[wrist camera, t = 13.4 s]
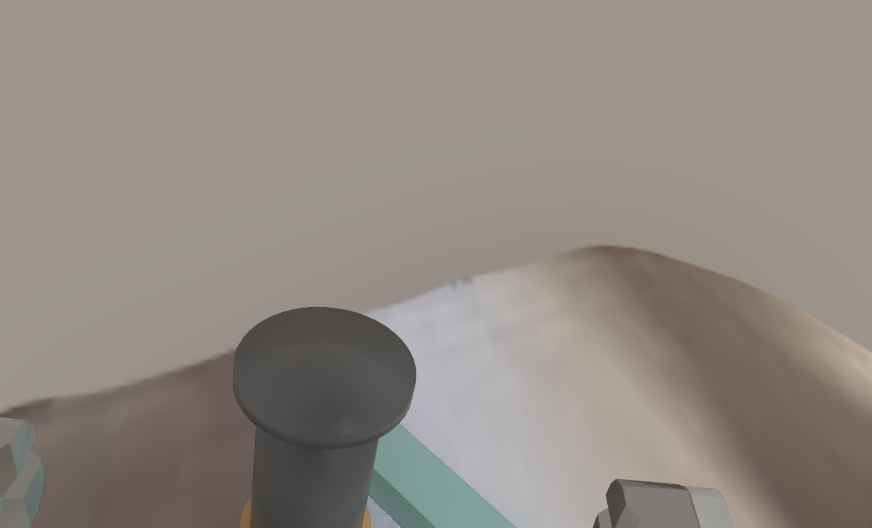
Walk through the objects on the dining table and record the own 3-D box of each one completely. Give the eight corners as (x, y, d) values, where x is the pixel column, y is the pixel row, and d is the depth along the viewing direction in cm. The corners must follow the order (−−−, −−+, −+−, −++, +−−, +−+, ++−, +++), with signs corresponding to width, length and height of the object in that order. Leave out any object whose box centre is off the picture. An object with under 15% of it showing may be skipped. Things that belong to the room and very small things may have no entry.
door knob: (311, 496, 40) (339, 287, 33) (400, 589, 37) (452, 380, 30) (195, 568, 36) (196, 347, 29) (283, 680, 33) (310, 464, 25)
